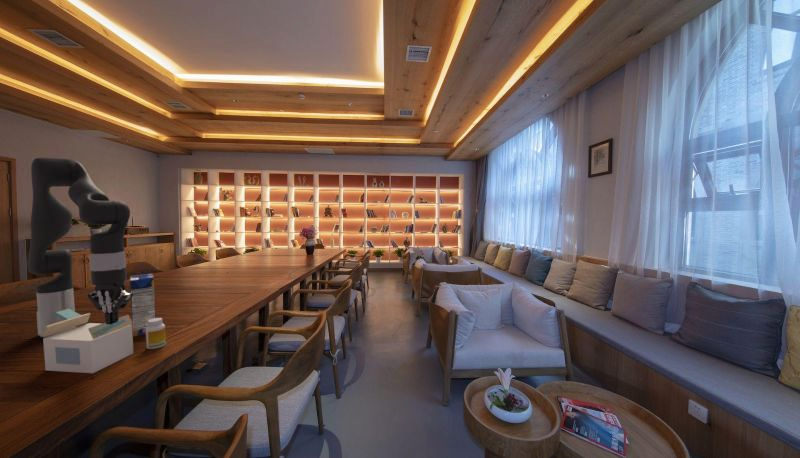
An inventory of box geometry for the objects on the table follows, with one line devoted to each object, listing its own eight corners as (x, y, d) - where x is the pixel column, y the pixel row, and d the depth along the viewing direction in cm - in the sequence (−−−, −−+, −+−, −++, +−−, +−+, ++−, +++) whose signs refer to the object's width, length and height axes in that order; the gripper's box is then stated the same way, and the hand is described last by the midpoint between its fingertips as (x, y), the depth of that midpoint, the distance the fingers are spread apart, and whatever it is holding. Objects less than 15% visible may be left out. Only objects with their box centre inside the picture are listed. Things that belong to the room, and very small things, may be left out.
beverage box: (133, 336, 110) (129, 280, 109) (133, 327, 118) (130, 275, 117) (156, 331, 115) (153, 277, 113) (155, 323, 123) (152, 273, 121)
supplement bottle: (169, 343, 104) (168, 318, 104) (152, 350, 99) (151, 323, 99) (159, 341, 106) (158, 316, 106) (142, 348, 101) (141, 321, 100)
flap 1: (90, 313, 97) (71, 303, 98) (47, 326, 86) (26, 315, 87) (87, 322, 98) (68, 312, 98) (43, 336, 87) (23, 325, 87)
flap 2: (87, 328, 85) (107, 318, 84) (126, 315, 96) (144, 306, 95) (93, 339, 85) (113, 329, 84) (131, 324, 96) (149, 315, 95)
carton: (45, 370, 87) (42, 338, 86) (91, 351, 99) (89, 323, 98) (92, 373, 85) (90, 341, 85) (133, 353, 97) (131, 324, 97)
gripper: (73, 269, 82) (77, 327, 83) (115, 270, 81) (118, 329, 82) (102, 264, 90) (106, 318, 91) (141, 265, 89) (144, 319, 90)
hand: (112, 323), depth 87 cm, fingers closed
